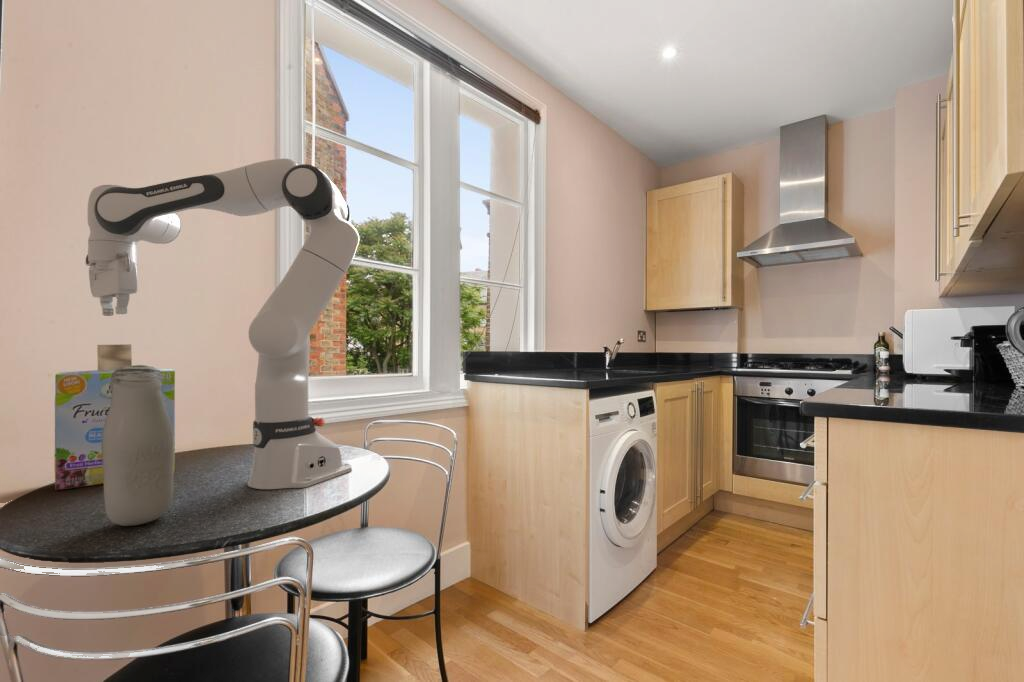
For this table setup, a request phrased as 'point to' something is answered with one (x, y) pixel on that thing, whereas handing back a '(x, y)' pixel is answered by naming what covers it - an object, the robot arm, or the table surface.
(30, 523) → the table surface
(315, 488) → the table surface
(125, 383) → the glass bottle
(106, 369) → the maple block
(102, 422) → the snack box
